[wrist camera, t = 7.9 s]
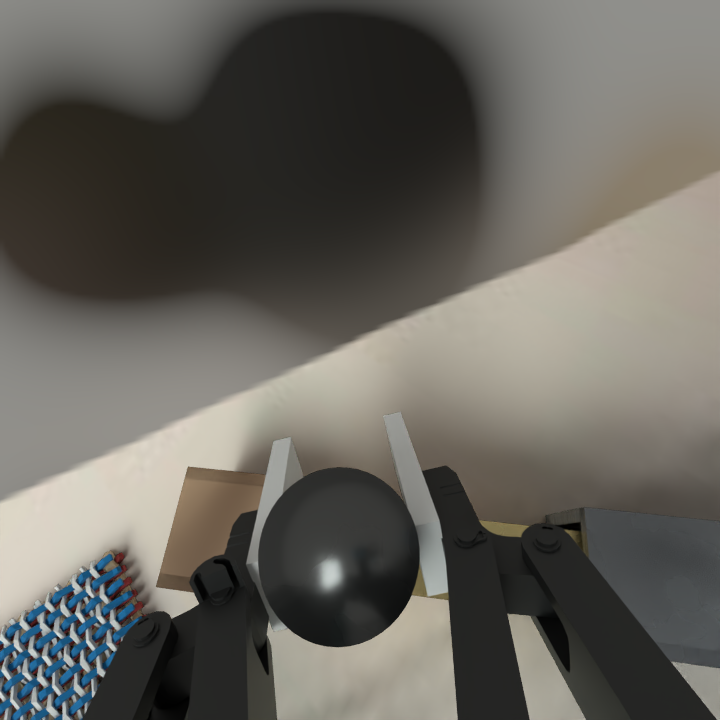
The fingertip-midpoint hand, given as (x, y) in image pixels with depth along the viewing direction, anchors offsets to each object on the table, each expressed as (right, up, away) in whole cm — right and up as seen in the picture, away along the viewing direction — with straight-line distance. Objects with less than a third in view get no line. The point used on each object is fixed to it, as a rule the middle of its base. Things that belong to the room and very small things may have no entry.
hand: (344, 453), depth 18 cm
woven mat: (-15, -15, +6) cm, 22 cm away
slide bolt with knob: (+5, -7, +5) cm, 10 cm away
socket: (-5, -7, +8) cm, 11 cm away
